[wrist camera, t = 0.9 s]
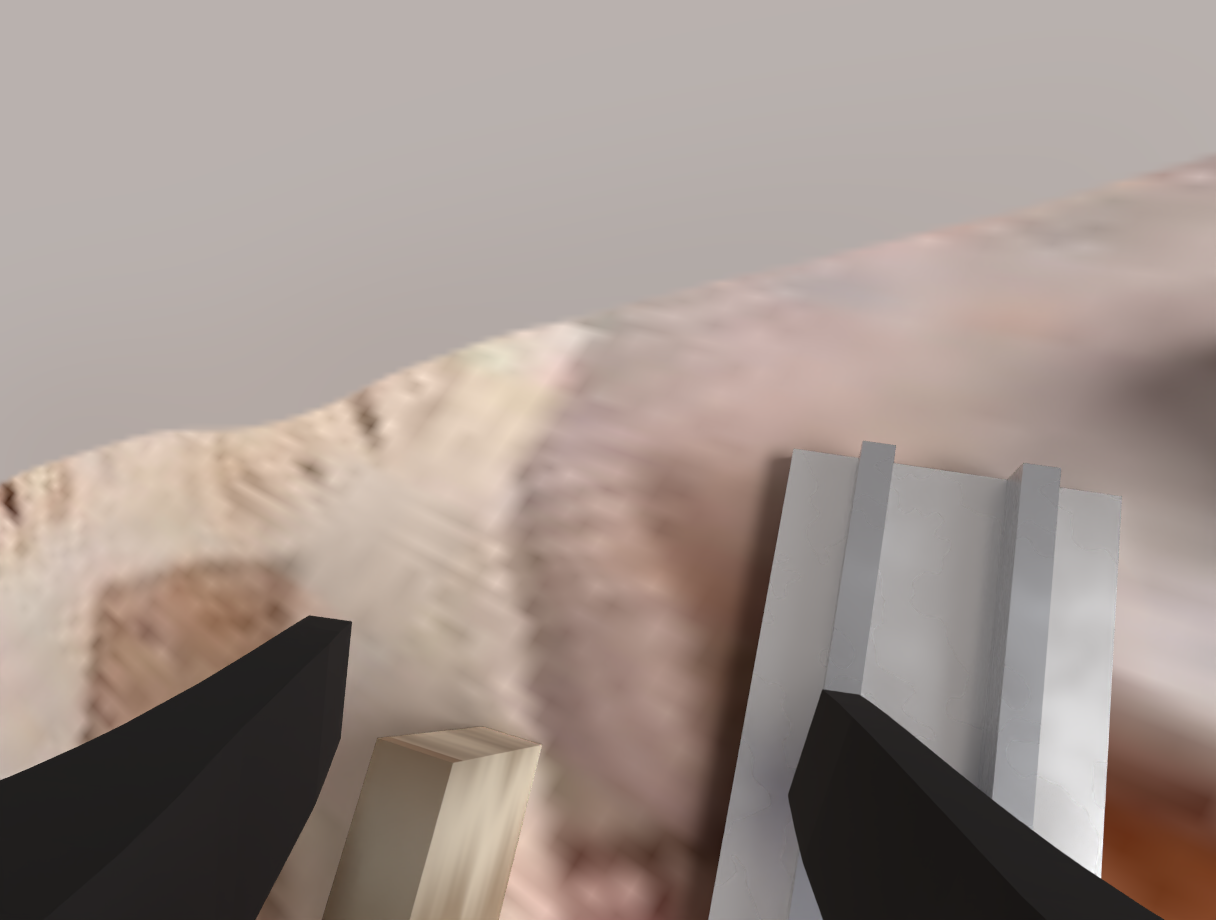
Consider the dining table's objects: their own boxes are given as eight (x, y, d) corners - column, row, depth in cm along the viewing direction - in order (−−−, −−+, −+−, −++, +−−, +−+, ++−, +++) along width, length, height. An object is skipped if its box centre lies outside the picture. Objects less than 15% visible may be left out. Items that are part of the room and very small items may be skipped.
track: (1063, 1259, 18) (1108, 1355, 15) (679, 1089, 21) (662, 1145, 18) (1108, 504, 23) (1148, 480, 20) (794, 457, 26) (793, 431, 23)
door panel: (462, 1068, 22) (326, 1219, 16) (399, 1038, 23) (245, 1169, 17) (542, 744, 25) (452, 762, 19) (483, 726, 26) (377, 737, 19)
